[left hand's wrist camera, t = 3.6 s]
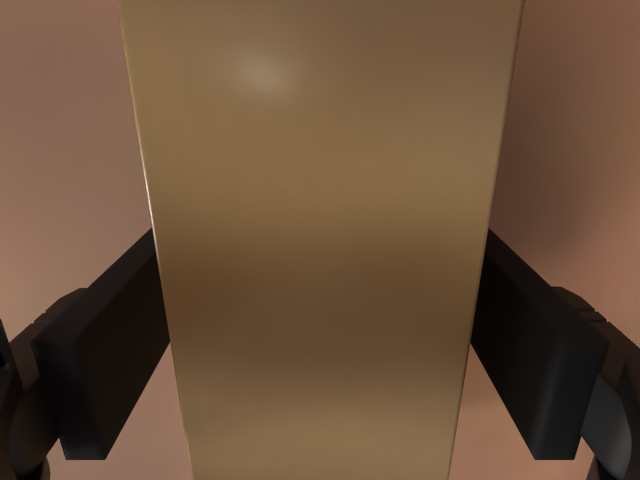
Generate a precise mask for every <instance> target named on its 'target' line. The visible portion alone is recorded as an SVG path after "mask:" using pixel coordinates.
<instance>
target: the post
mask: <svg viewBox="0 0 640 480" xmlns="http://www.w3.org/2000/svg"><path fill="white" fill-rule="evenodd" d="M524 1H525V0H116V2H117V8H118V14H119V21H120V27H121V33H122V40H123V46H124V52H125V59H126V65H127V71H128V78H129V84H130V90H131V97H132V103H133V109H134V115H135V122H136V128H137V134H138V141H139V147H140V153H141V160H142V166H143V172H144V179H145V185H146V191H147V197H148V204H149V210H150V216H151V223H152V229H153V235H154V242H155V248H156V254H157V261H158V267H159V273H160V280H161V286H162V292H163V298H164V305H165V311H166V317H167V324H168V330H169V336H170V343H171V349H172V355H173V362H174V368H175V374H176V381H177V387H178V393H179V399H180V406H181V412H182V418H183V425H184V431H185V437H186V444H187V450H188V456H189V463H190V469H191V475H192V480H448V479H449V472H450V466H451V460H452V453H453V447H454V441H455V435H456V428H457V422H458V416H459V409H460V403H461V397H462V391H463V384H464V378H465V372H466V365H467V359H468V353H469V347H470V340H471V334H472V328H473V321H474V315H475V309H476V303H477V296H478V290H479V284H480V277H481V271H482V265H483V259H484V252H485V246H486V240H487V233H488V227H489V221H490V215H491V208H492V202H493V196H494V189H495V183H496V177H497V171H498V164H499V158H500V152H501V145H502V139H503V133H504V127H505V120H506V114H507V108H508V101H509V95H510V89H511V83H512V76H513V70H514V64H515V57H516V51H517V45H518V39H519V32H520V26H521V20H522V13H523V7H524Z"/></svg>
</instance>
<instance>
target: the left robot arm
mask: <svg viewBox="0 0 640 480" xmlns="http://www.w3.org/2000/svg"><path fill="white" fill-rule="evenodd" d="M169 343H170V336H169V330H168V324H167V317H166V311H165V305H164V298H163V292H162V286H161V280H160V273H159V267H158V261H157V254H156V248H155V242H154V235H153V229H152V228H151V229H150V230H149V231H148V232H147V233H145V234H144V235H143V236H142V237H141V238H140V239H139V240H138V241H137V242H136V243H135V244H134V245H133V246H132V247H131V248H130V249H128V250H127V251H126V252H125V253H124V254H123V255H122V256H121V257H120V258H119V259H118V260H117V261H116V262H115V263H114V264H112V265H111V266H110V267H109V268H108V269H107V270H106V271H105V272H104V273H103V274H102V275H101V276H100V277H99V278H98V279H97V280H95V281H94V282H93V283H92V284H91V285H90V286H89V287H88V288H79V289H77V290H75V291H73V292H71V293H69V294H67V295H65V296H63V297H62V298H60V299H58V300H57V301H56V302H55V303H54V304H53V305H52V306H50V307H49V308H48V309H47V310H46V313H42V314H41V315H40V316H39V317H38V318H37V319H36V320H35V321H34V324H30V325H29V326H28V327H27V328H25V329H24V330H23V331H22V332H21V333H20V334H19V335H17V336H16V337H15V338H14V339H13V340H12V341H11V342H10V343H9V342H8V339H7V336H6V333H5V330H4V327H3V324H2V321H1V319H0V480H50V467H49V463H48V460H47V457H46V455H47V454H48V452H49V451H50V449H51V448H52V447H53V445H54V444H55V442H56V441H57V440H58V438H59V439H60V442H61V445H62V449H63V452H64V455H65V458H66V460H105V459H106V457H107V455H108V454H109V452H110V450H111V448H112V446H113V445H114V443H115V441H116V439H117V437H118V435H119V434H120V432H121V430H122V428H123V426H124V425H125V423H126V421H127V419H128V417H129V415H130V414H131V412H132V410H133V408H134V406H135V405H136V403H137V401H138V399H139V397H140V395H141V394H142V392H143V390H144V388H145V386H146V385H147V383H148V381H149V379H150V377H151V376H152V374H153V372H154V370H155V368H156V366H157V365H158V363H159V361H160V359H161V357H162V356H163V354H164V352H165V350H166V348H167V346H168V345H169ZM470 343H471V345H472V346H473V348H474V350H475V352H476V354H477V356H478V357H479V359H480V361H481V363H482V365H483V366H484V368H485V370H486V372H487V374H488V376H489V377H490V379H491V381H492V383H493V385H494V386H495V388H496V390H497V392H498V394H499V396H500V397H501V399H502V401H503V403H504V405H505V406H506V408H507V410H508V412H509V414H510V415H511V417H512V419H513V421H514V423H515V425H516V426H517V428H518V430H519V432H520V434H521V435H522V437H523V439H524V441H525V443H526V445H527V446H528V448H529V450H530V452H531V454H532V455H533V457H534V459H535V460H574V458H575V455H576V452H577V449H578V445H579V442H580V439H581V436H582V437H583V439H584V440H585V441H586V443H587V444H588V446H589V447H590V449H591V450H592V451H593V453H594V457H593V460H592V463H591V466H590V469H589V472H588V475H587V478H586V480H640V348H639V347H638V346H636V345H635V344H634V343H633V342H632V341H631V340H630V339H628V338H627V337H626V336H625V335H624V334H623V333H622V332H620V331H619V330H618V329H617V328H616V327H615V326H614V325H612V324H611V323H610V322H607V321H606V318H604V317H603V316H602V315H601V314H600V313H599V312H595V309H594V308H593V307H592V306H591V305H589V304H588V303H587V302H586V301H585V300H584V299H583V298H581V297H580V296H578V295H576V294H574V293H572V292H570V291H568V290H566V289H564V288H562V287H551V286H550V285H549V284H548V283H547V282H546V281H545V280H543V279H542V278H541V277H540V276H539V275H538V274H537V273H536V272H535V271H534V270H533V269H532V268H531V267H530V266H529V265H528V264H526V263H525V262H524V261H523V260H522V259H521V258H520V257H519V256H518V255H517V254H516V253H515V252H514V251H513V250H512V249H510V248H509V247H508V246H507V245H506V244H505V243H504V242H503V241H502V240H501V239H500V238H499V237H498V236H497V235H496V234H495V233H493V232H492V231H491V230H490V229H489V228H488V233H487V240H486V246H485V252H484V259H483V265H482V271H481V277H480V284H479V290H478V296H477V303H476V309H475V315H474V321H473V328H472V334H471V340H470Z"/></svg>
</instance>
